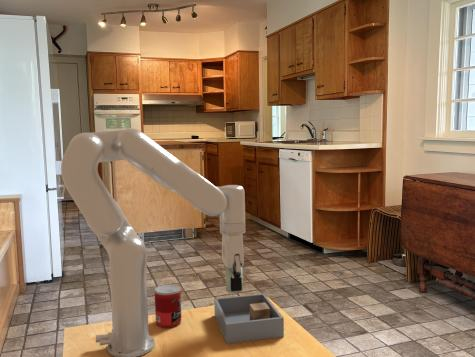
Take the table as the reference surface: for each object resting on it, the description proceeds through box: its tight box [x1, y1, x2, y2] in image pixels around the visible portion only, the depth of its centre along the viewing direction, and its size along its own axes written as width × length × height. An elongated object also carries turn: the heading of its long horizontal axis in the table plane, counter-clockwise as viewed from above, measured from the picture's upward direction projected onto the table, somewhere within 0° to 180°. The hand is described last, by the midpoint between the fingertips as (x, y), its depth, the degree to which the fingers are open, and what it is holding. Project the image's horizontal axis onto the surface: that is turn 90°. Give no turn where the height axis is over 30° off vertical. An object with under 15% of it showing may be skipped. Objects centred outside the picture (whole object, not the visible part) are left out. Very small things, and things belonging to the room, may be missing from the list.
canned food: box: [154, 283, 182, 329], centre depth 134 cm, size 8×8×11 cm
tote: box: [213, 293, 285, 345], centre depth 132 cm, size 17×20×6 cm
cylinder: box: [224, 265, 244, 294], centre depth 130 cm, size 5×5×7 cm
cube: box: [250, 302, 270, 320], centre depth 132 cm, size 5×5×5 cm
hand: (234, 286), depth 130 cm, fingers closed on cylinder, 5 cm apart
